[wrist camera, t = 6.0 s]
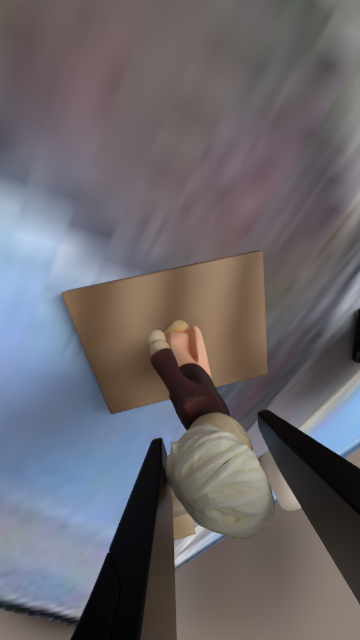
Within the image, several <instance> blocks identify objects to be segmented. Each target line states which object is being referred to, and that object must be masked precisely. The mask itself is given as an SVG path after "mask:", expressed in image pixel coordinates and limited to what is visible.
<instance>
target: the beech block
mask: <svg viewBox="0 0 360 640" xmlns="http://www.w3.org/2000/svg"><path fill="white" fill-rule="evenodd" d="M171 491H172V501H173V529H174V540H177V539H180V538H183V537H187V536H190V535H193V534H196V533H195V527H194V521H193V518H192V517H191V516H190V515H189V514H188V513H187V511H186V510H185V508H184V507H183V505H182V504H181V503H180V502H179V500H178V499H177V498H176V497H175V495H174V493H173V490H172V488H171Z"/></svg>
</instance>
